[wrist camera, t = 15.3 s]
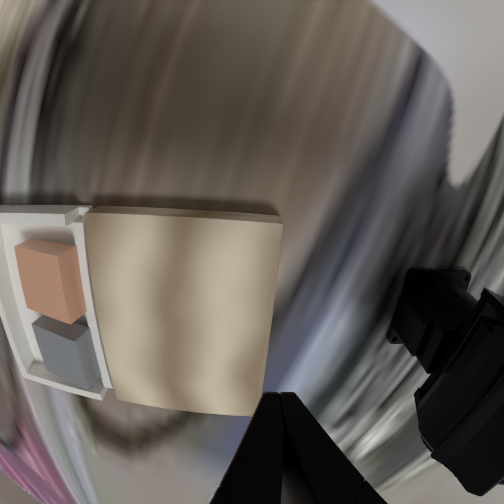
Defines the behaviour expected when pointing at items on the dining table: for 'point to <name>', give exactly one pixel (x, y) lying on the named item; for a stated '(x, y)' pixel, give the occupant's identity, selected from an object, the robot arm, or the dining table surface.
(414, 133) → the dining table surface
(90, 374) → the slate tile
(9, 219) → the tray
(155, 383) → the birch board
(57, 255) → the terracotta tile
